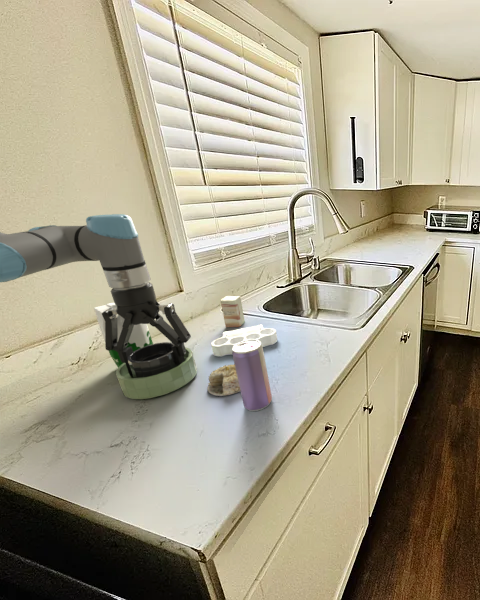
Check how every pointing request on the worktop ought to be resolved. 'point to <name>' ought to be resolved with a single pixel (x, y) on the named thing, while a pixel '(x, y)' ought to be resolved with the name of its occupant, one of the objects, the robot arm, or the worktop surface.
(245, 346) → the beverage can
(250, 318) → the worktop surface
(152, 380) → the green bowl
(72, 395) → the worktop surface
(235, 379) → the cake
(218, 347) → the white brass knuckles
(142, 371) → the charcoal bowl
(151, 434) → the worktop surface
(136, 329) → the milk carton
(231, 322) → the small white box
